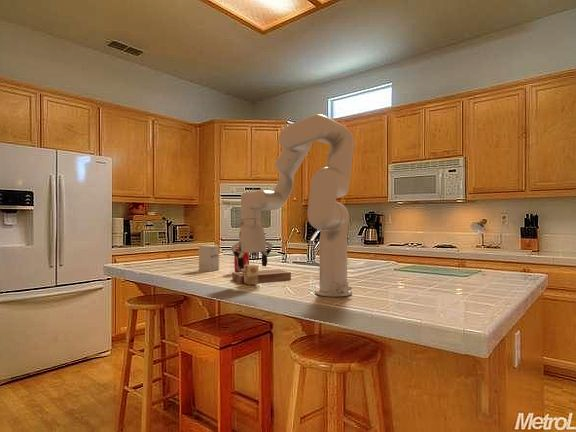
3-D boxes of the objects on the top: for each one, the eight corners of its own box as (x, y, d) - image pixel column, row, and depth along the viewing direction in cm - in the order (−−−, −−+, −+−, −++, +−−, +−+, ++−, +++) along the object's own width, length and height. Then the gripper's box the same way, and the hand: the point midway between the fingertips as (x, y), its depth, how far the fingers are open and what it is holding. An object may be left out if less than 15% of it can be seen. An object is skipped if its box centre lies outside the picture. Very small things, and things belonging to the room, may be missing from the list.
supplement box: (210, 271, 182) (210, 246, 182) (198, 271, 185) (198, 245, 185) (219, 270, 189) (219, 245, 189) (207, 269, 192) (207, 244, 192)
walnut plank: (290, 279, 157) (290, 272, 157) (241, 283, 147) (241, 276, 147) (279, 275, 168) (279, 269, 168) (232, 279, 158) (232, 272, 158)
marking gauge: (259, 284, 144) (259, 266, 144) (249, 285, 142) (249, 266, 142) (247, 279, 156) (247, 262, 156) (238, 279, 154) (238, 263, 154)
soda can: (231, 273, 176) (231, 248, 176) (238, 271, 182) (238, 247, 182) (245, 274, 173) (245, 248, 174) (251, 272, 180) (251, 247, 180)
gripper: (233, 224, 139) (234, 269, 139) (275, 222, 147) (276, 266, 146) (227, 224, 146) (228, 268, 145) (267, 223, 153) (269, 264, 153)
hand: (252, 267), depth 146 cm, fingers open, 9 cm apart
